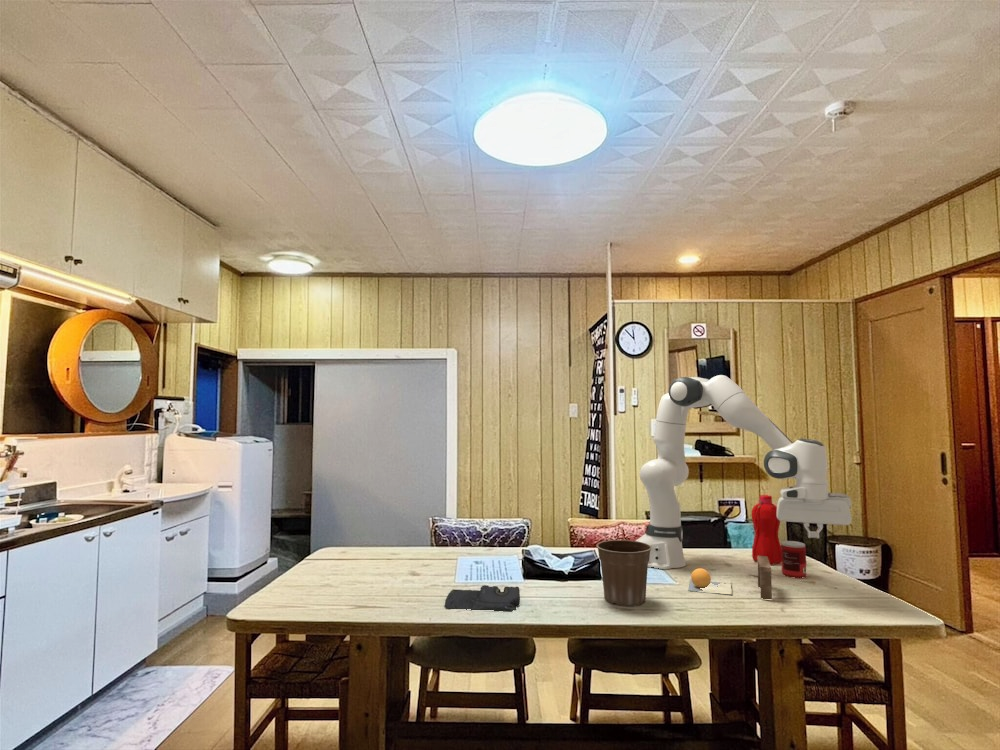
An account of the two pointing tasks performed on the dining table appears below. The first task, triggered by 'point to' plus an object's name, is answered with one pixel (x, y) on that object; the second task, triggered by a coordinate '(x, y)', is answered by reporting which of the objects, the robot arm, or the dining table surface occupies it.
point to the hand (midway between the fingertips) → (813, 537)
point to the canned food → (793, 559)
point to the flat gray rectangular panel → (695, 588)
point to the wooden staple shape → (764, 577)
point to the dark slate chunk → (484, 599)
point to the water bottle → (766, 531)
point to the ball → (700, 578)
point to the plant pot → (624, 571)
